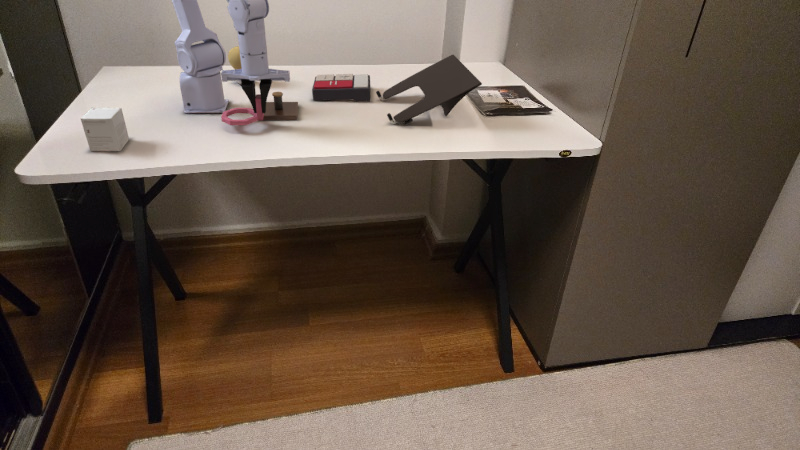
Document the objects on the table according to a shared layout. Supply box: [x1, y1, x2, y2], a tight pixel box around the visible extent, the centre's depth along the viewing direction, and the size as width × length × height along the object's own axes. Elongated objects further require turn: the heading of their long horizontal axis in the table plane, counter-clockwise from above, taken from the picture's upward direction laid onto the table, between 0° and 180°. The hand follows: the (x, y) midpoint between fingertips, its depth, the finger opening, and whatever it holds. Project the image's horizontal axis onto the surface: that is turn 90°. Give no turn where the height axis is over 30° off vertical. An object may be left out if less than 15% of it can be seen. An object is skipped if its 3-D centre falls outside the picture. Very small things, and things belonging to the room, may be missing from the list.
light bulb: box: [227, 45, 242, 85], centre depth 143 cm, size 6×6×10 cm
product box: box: [80, 107, 130, 152], centre depth 109 cm, size 6×6×7 cm
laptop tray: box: [375, 54, 483, 125], centre depth 133 cm, size 23×23×9 cm
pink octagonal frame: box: [220, 93, 264, 126], centre depth 119 cm, size 9×8×5 cm
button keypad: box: [311, 73, 371, 103], centre depth 141 cm, size 11×4×15 cm
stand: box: [262, 91, 299, 121], centre depth 128 cm, size 9×9×5 cm
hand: (260, 111), depth 120 cm, fingers closed on pink octagonal frame
